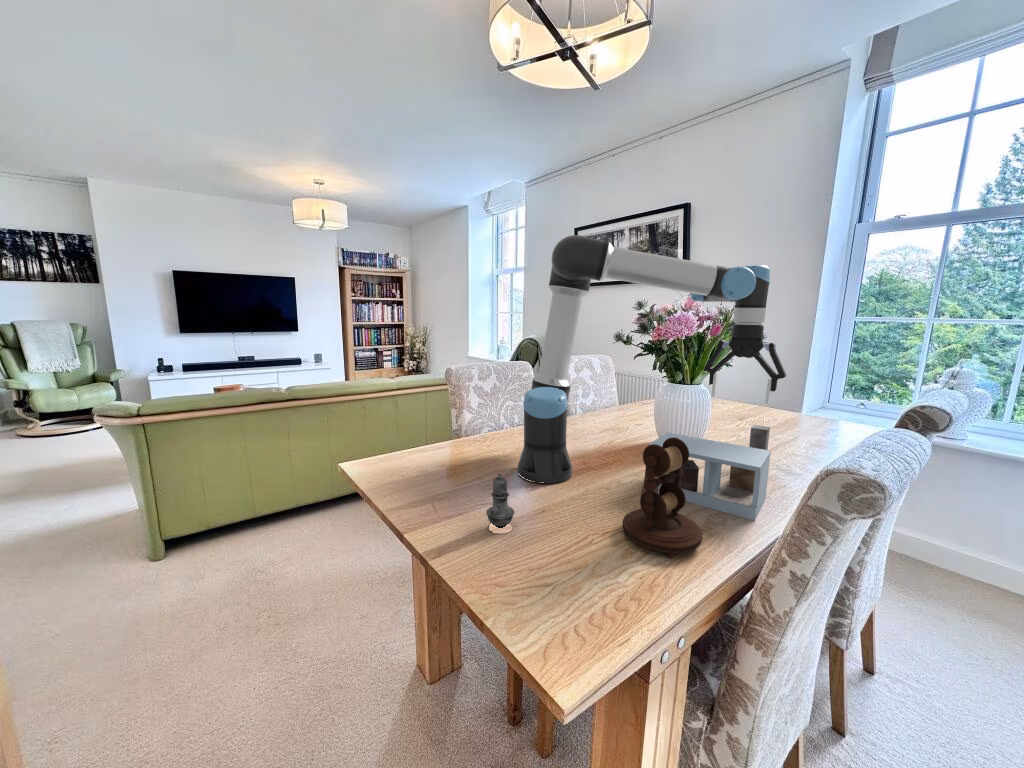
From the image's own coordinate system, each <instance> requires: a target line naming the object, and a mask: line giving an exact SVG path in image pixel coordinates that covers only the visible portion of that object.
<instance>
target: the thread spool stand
mask: <svg viewBox="0 0 1024 768" xmlns="http://www.w3.org/2000/svg"><path fill="white" fill-rule="evenodd" d="M642 452H643V453H642V460H643V464H644V466H645V471H644V478H643V484H642V487H641V493H640V499H639V505H640V508H639V509H635V510H633V511H630V512H628V513H627V514H626V515H625V516H624V517H623V519H622V530H623V534H624V537H627V538H629V540H631V541H633V542H634V543H635V544H638V545H640V546H642V547H644V548H646V549H650V550H653V551H656V552H662V553H666V556H667V558H668V559H671V558H672V557H673V556H674V554H680V553H688V552H692V551H694V550H696V549H697V548H699V547H700V546H701V545H702V542H703V530H702V529H701V527H700V526H699V525H698V524H697V523H696V522H695V521H693V519H690V518H689V517H687V516H686V515H684V514H681V513H679V512H680V510H682V509H683V508H684V507H685V505H686V498H685V494H684V492H683V490H682V489H681V486H680V482H679V480H681V478H682V476H683V473H684V472H683V470H682V469H681V467H682V465H684V464H685V463H686V462H687V461H688V460H690V457H689V450H688V447H687V445H686V444H685V443H684V442H683V441H682V440H680V439H678V438H674V437H673V438H668V439H667V440H665V442H664V443H663V446H662V447H661V446H659V445H656V444H652V445H649V446H648V445H647V446H646V447H645V448H644V450H643V451H642ZM671 479H674V483H672V482H668V481H670V480H671ZM660 484H662V485H661V487H660V489H659V494H658V486H659V485H660Z"/></svg>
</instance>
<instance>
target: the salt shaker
mask: <svg viewBox="0 0 1024 768" xmlns="http://www.w3.org/2000/svg"><path fill="white" fill-rule="evenodd" d="M509 496H510V494H509V492H508V480H507V479H506V478H505V477H503V476H502V474H501V473H498V476H497V477H495V478H494V479H493V481H492V493H491V497H492V506H491V507H488V509H487V510H486V512H485V514H486V516H487V519H488V521H489V523H490V524H491V523H492V524H493V525H495V526H496V527H498V528H503V527H505V526H506V525H507V524H509V523H511V522H512V520H513V517H514V515H515V509H514V508H513V507H511V506H509V504H508V498H509Z"/></svg>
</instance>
